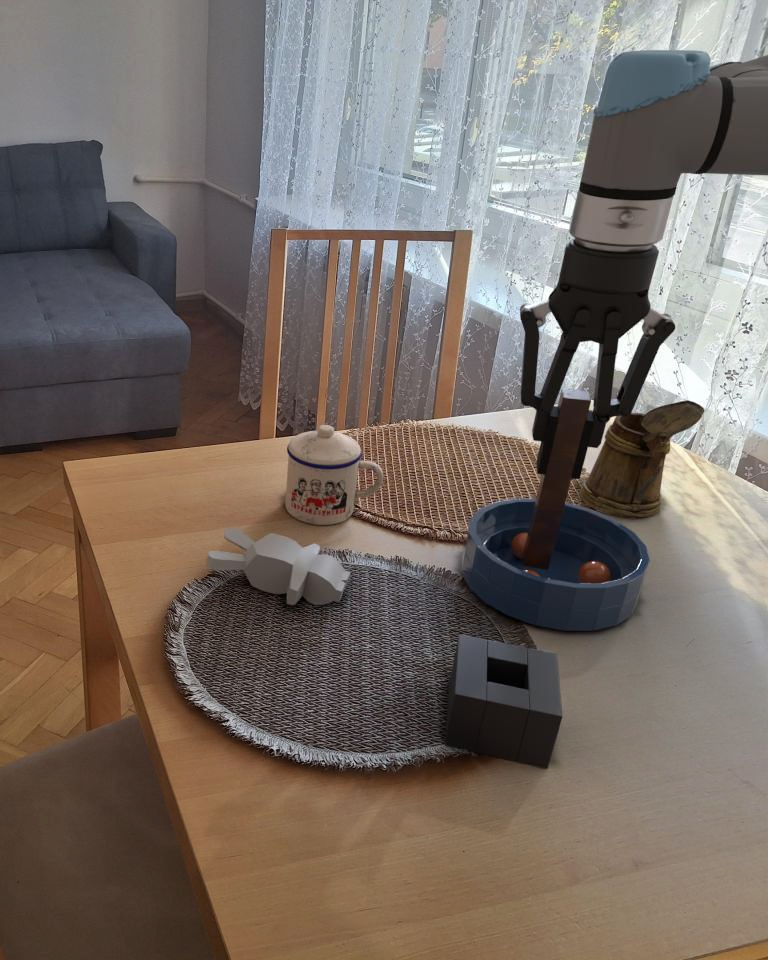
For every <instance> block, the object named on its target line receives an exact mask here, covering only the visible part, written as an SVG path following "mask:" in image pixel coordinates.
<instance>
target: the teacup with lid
mask: <svg viewBox="0 0 768 960" xmlns="http://www.w3.org/2000/svg"><path fill="white" fill-rule="evenodd" d="M286 452H287V455H288V459H287V472H286V473H287V474H286V489H285V490H286V491H285V503H284V504H285V509H286V512H288V513H289V514H290V515H291V517H293V518H295V519H296V520H297V521H298V520H299V521H301V522H303V523H305V524H310V525H314V526H315V525H317V526H331V525H336V524H340V523H342V522H345V521H346V520H348V519H349V518H350V517H351V516H352V515H353V513H354V510H355V509H354V508H355V499H356V498H357V499H364V498H369V497H371V496H373V495H375V494H376V493H377V492H378V491H379V490H380V488H381V486H382V485H383V482H384V472H383V469H382V467H381V466H380V465H379V464H377V463H376V462H373V461H370V460H361V459H362V454H363V452H362V449H361V446H360V444H359V443H358V441H356V439H354V438H352V437H351V436H349V435H347V434H345V433H342V432H338V431H337V432H336V431H335V428H334V427H333V426H332V425H329V424H321V425H319V426H318V427H317V430H310V431H304V432H301V433H299V434H297V435H295V436H294V437H292V439H290V441H289V442H288V445H287V447H286ZM359 469H367V470H371V471H373V472H374V473H375V474H376V475H377V478H376V480H375V482H374V483H373V484H372V485H371V486H370V487H368V488H365V489H357V482H358V473H359Z"/></svg>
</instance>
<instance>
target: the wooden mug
mask: <svg viewBox="0 0 768 960" xmlns="http://www.w3.org/2000/svg"><path fill="white" fill-rule="evenodd" d="M705 411H706V410H705V408H704V407H703V406H701V404H698V403H697V402H696V401H692V400H688V399H687V400H682V401H677V402H673V403H668V404H664V405H661V406H657V407H654V408H653V409H650V410H649V411H648V412H646V413H640V412H631V414H630V415H629V416H626V417H622V416H615V417H614V419H613V421H612V423H611V424H610V425H609V426H608V428H607V430H606V432H605V435H604V442H603V445H602V447H601V449H600V450H599V453H598V456H597V458H596V459H595V462H594V464H593V467H592V469H591V471H590V473H589V475H588V477H587V478H586V479H585V481H584V483H583V484H582V486H581V488H580V490H579V492H578V494H579V497H580V499H581V500H582V501H583V502H584V503H585V504H587V505H588V506H589V507H590V508H592V509H593V510H594V511H597V512H599V513H602V514H604V515H607V516H608V515H609V516H613V517H617V518H623V519H645V518H649V517H653V516H654V515H656V514H658V513H659V512H660V511H661V505H662V501H663V500H662V498H663V496H662V493H661V489H662V483H663V482H662V481H663V474H664V468H665V462H666V457H667V455H668V454H670V452H671V438H673V436H675V435H676V434H679V433H683V432H684V431H687V430H689V429H691V428H692V427H694V426H695V425H696V424H697V423H698V422H700V420H701V419H702V417H703V415H704V413H705Z"/></svg>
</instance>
